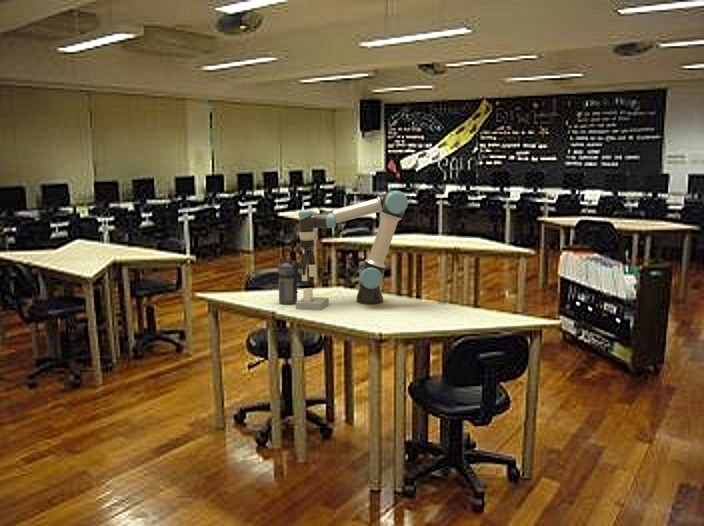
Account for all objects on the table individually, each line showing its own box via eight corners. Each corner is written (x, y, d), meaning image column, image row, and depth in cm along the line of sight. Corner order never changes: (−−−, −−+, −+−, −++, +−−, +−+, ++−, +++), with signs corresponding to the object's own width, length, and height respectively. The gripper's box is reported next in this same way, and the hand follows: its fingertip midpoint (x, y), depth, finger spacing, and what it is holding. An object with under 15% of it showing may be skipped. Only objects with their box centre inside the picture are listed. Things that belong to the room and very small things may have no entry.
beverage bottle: (293, 306, 341) (292, 260, 337) (274, 303, 348) (273, 259, 344) (304, 302, 349) (303, 258, 346) (285, 300, 356) (284, 257, 353)
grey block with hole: (328, 303, 346) (328, 297, 345) (320, 310, 330) (320, 303, 330) (304, 302, 349) (304, 296, 348) (295, 308, 333) (295, 302, 333)
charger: (312, 306, 340) (312, 288, 338) (310, 307, 336) (310, 289, 334) (305, 306, 341) (305, 287, 339) (303, 307, 337) (303, 289, 335)
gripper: (307, 237, 346) (308, 274, 349) (292, 242, 322) (294, 282, 325) (319, 237, 344) (321, 274, 347) (306, 242, 320) (308, 282, 323)
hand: (308, 278), depth 336 cm, fingers open, 13 cm apart
